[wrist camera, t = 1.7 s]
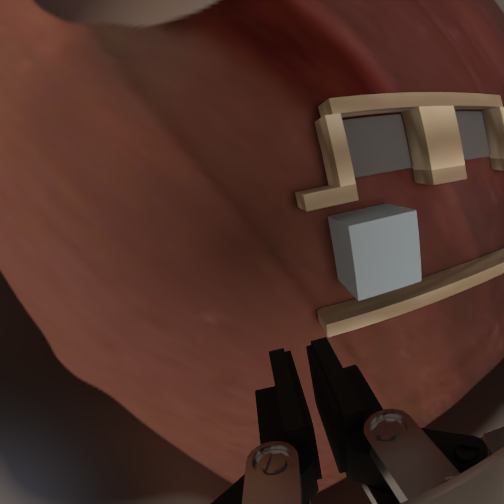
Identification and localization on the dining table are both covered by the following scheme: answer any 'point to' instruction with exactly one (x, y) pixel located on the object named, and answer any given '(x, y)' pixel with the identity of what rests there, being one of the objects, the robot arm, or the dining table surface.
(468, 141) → the pads
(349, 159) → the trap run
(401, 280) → the slate block
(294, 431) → the robot arm
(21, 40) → the dining table surface
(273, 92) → the dining table surface
